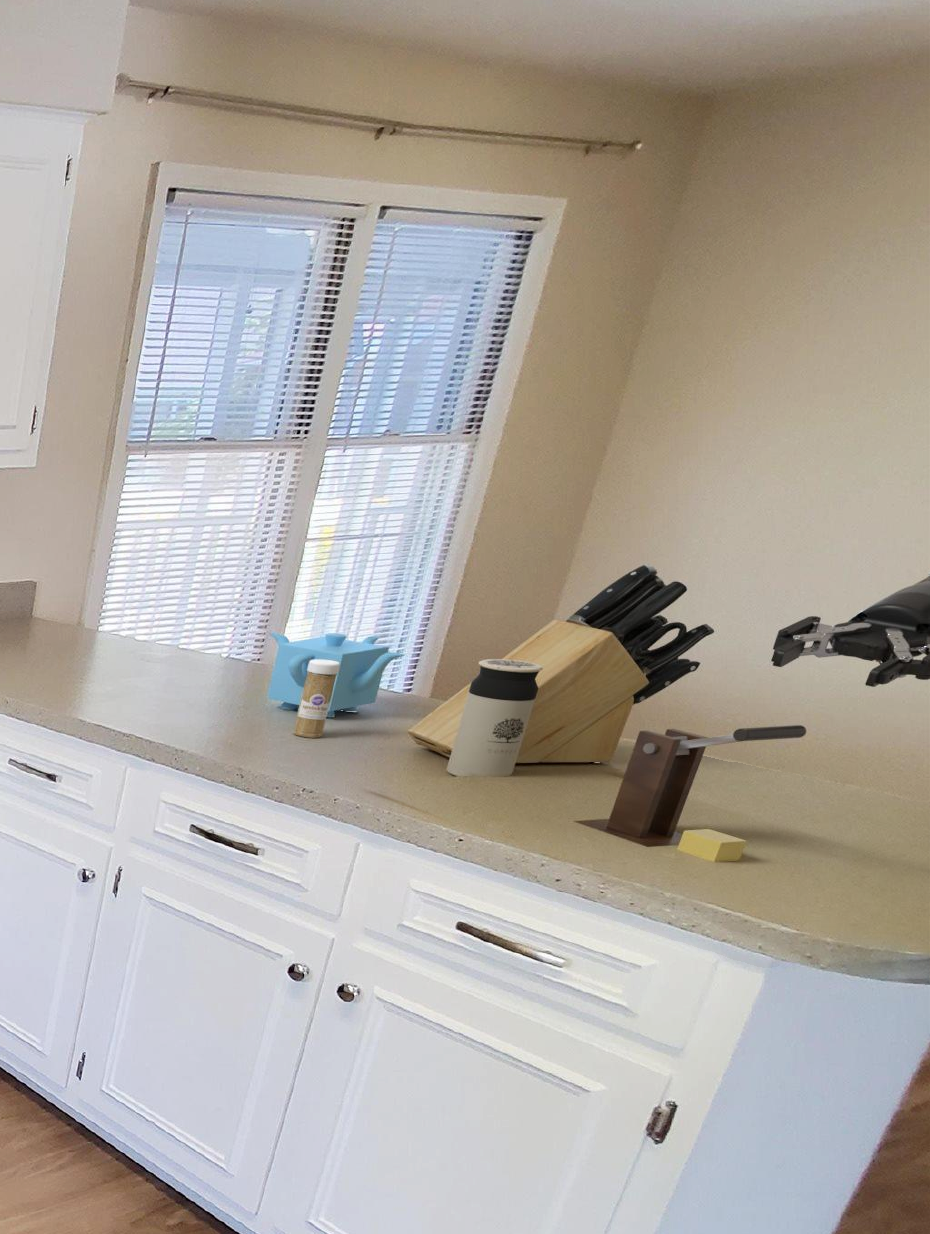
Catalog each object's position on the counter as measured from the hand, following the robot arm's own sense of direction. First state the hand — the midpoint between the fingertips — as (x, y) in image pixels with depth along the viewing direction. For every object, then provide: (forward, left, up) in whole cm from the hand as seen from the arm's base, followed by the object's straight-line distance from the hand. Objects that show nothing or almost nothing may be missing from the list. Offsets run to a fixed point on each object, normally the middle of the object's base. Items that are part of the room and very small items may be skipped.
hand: (823, 669), depth 135 cm
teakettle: (+77, -4, -25) cm, 81 cm away
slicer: (+7, +8, -25) cm, 27 cm away
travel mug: (+35, +4, -25) cm, 43 cm away
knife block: (+43, -14, -25) cm, 52 cm away
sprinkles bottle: (+61, +12, -25) cm, 67 cm away
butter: (-1, +8, -25) cm, 26 cm away
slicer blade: (+2, +8, -10) cm, 13 cm away
